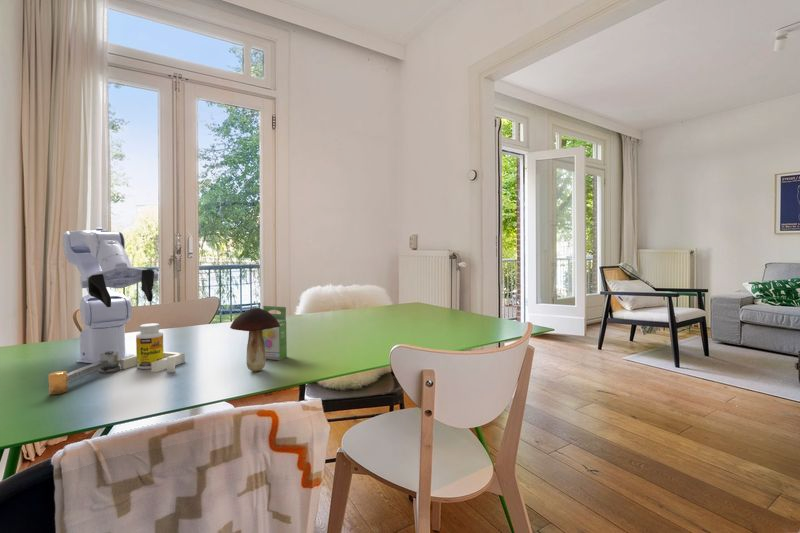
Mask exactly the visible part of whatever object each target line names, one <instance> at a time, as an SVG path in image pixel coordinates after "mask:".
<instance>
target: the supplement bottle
mask: <svg viewBox="0 0 800 533" xmlns="http://www.w3.org/2000/svg"><path fill="white" fill-rule="evenodd" d="M135 336H136V337H135V338H136V339H135V340H136V341H135V343H136V345H135V346H136V355H137V365H136V367H137V368H138V369H141V370H150V369H151V370H152V368H151V363H152V362H155V361H158V360H161V359H164V356H163V351H164V333H163V331H160V324H159V323H155V322H154V323H153V322H151V323H143V324H140V325H139V333H137V334H136V335H135Z"/></svg>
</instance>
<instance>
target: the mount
mask: <svg viewBox="0 0 800 533" xmlns="http://www.w3.org/2000/svg"><path fill="white" fill-rule="evenodd" d="M119 371H121V369H120V365H119V367H117V368H113V369H106V370H102V369H98V373H99V374H103V375H105V374H113V373H117V372H119Z"/></svg>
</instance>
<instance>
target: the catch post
mask: <svg viewBox="0 0 800 533" xmlns="http://www.w3.org/2000/svg"><path fill="white" fill-rule="evenodd" d="M166 371H167V373H168V374H170V373H175V372H176V365H175V356H169V357H167V369H166Z"/></svg>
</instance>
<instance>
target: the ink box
mask: <svg viewBox="0 0 800 533" xmlns="http://www.w3.org/2000/svg"><path fill="white" fill-rule="evenodd" d="M262 309H263V310H266V311H268V312H269V311H277V312H279V313H270V312H269V313H270V314H272V315H273V316H274V317H275V318H276V319H277V320H278V322H279V324H280V327H276V328H271V329H265V330H262V332H263V338H264V344H265V355H266V360H272V361H273V360H274V361H276V360H277V361H281V360H283V359H284V358H286V357H288V351H287V350H288V349H287V344H288V342H287V339H288V338H287V320H286V319H287V317H286V316H287V307H286V306H275V305H273V306H271V305H263V308H262Z"/></svg>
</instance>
